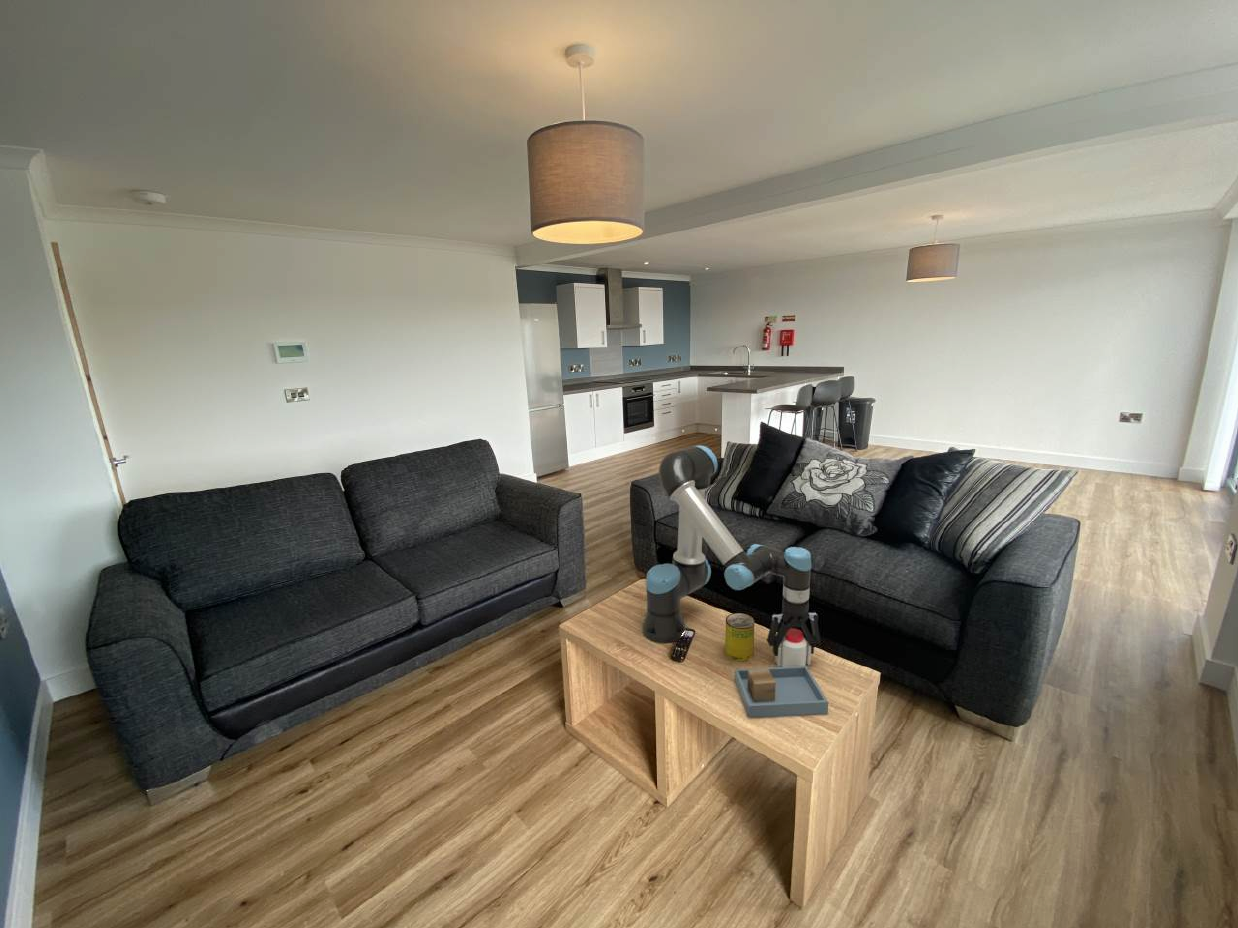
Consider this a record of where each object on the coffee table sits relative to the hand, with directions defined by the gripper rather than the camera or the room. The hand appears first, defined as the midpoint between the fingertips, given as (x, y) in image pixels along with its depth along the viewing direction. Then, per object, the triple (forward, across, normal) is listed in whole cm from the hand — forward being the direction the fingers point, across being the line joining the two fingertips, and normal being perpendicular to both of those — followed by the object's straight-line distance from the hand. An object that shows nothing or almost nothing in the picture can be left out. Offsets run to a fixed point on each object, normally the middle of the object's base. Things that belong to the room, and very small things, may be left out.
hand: (792, 662), depth 160 cm
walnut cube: (0, -14, -14) cm, 20 cm away
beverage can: (+1, -15, +7) cm, 17 cm away
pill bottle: (+1, 0, 0) cm, 1 cm away
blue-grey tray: (0, -9, -14) cm, 17 cm away
